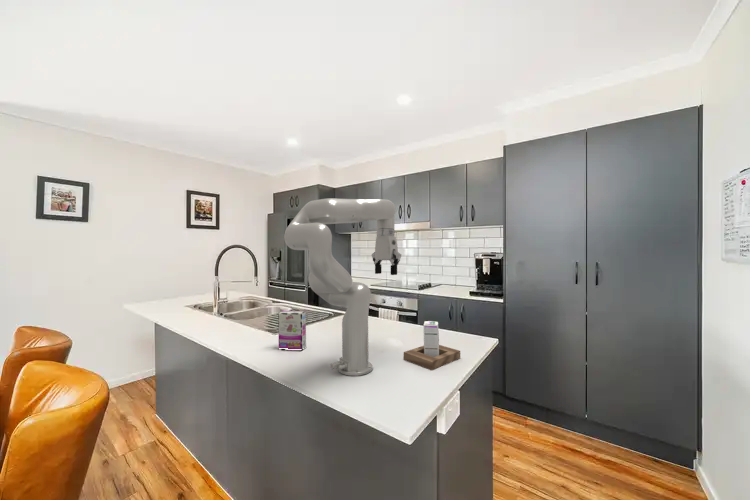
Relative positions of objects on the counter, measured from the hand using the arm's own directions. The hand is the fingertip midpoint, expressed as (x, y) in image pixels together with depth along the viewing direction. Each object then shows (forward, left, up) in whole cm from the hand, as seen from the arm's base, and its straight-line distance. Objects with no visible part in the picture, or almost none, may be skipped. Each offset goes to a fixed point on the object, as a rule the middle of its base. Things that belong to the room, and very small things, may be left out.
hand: (385, 274), depth 125 cm
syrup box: (+9, -17, -34) cm, 38 cm away
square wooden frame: (+9, -17, -33) cm, 38 cm away
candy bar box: (-27, +32, -34) cm, 54 cm away
